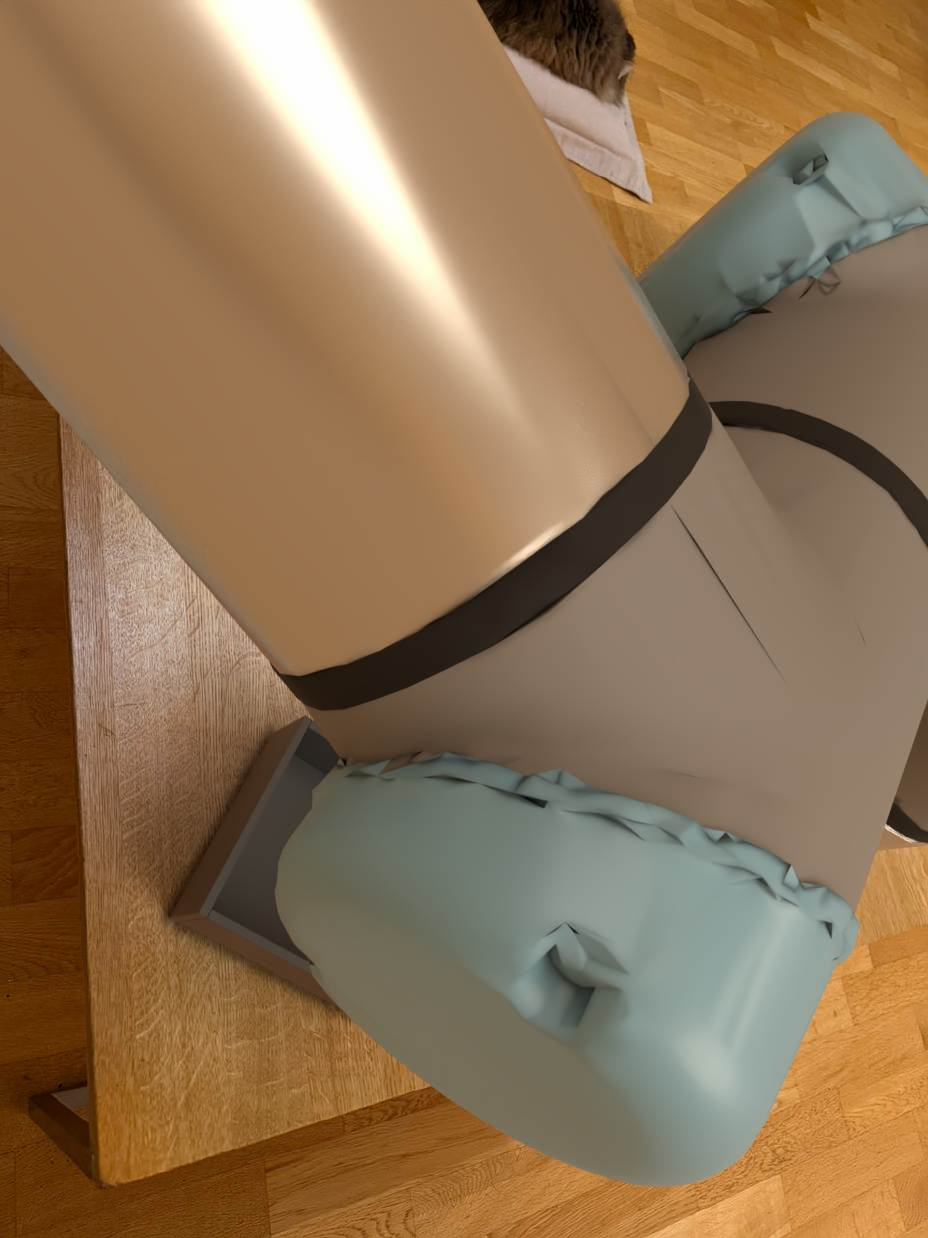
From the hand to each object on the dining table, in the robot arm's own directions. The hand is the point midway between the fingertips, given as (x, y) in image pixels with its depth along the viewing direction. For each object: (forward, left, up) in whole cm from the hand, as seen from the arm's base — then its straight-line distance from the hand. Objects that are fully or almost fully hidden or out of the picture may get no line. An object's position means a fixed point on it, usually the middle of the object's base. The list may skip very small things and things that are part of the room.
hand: (461, 826), depth 50 cm
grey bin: (0, -1, -21) cm, 21 cm away
